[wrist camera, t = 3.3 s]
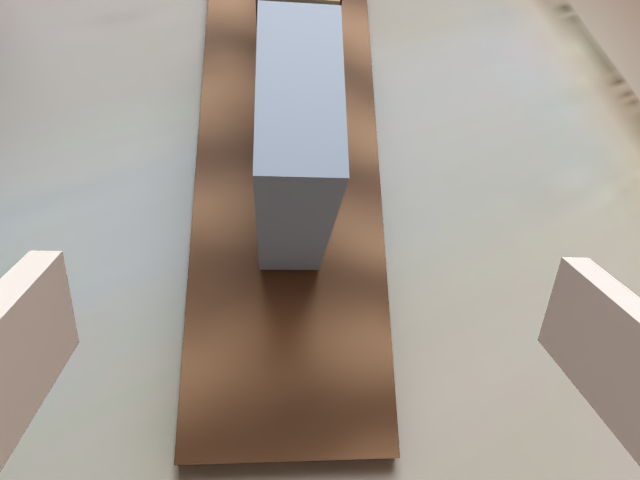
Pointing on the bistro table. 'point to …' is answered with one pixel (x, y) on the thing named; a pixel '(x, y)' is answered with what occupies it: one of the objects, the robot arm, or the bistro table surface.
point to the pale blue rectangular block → (298, 132)
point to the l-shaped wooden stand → (282, 283)
